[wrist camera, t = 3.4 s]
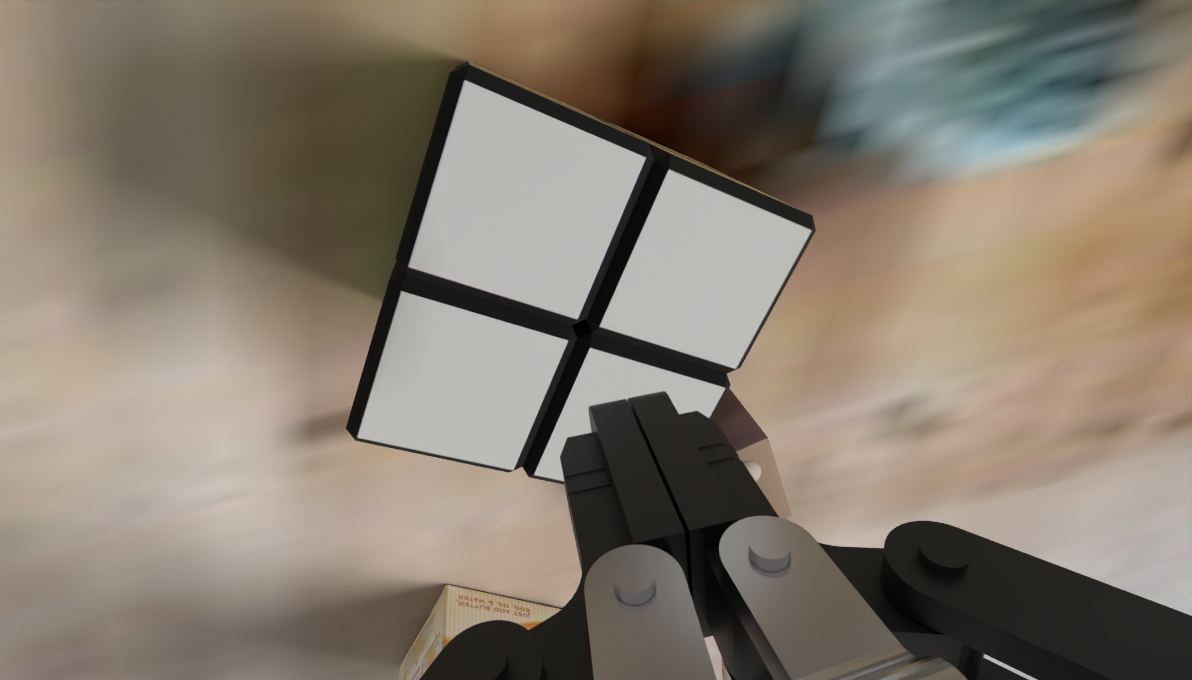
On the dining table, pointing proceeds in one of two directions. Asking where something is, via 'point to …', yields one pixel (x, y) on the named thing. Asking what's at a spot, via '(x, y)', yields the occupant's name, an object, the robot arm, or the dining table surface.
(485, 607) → the coffeecake box
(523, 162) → the puzzle cube
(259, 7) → the dining table surface
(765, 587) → the robot arm
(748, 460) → the walnut block
